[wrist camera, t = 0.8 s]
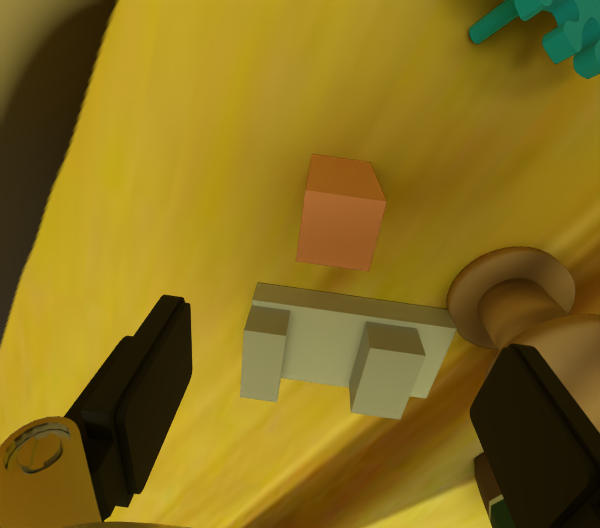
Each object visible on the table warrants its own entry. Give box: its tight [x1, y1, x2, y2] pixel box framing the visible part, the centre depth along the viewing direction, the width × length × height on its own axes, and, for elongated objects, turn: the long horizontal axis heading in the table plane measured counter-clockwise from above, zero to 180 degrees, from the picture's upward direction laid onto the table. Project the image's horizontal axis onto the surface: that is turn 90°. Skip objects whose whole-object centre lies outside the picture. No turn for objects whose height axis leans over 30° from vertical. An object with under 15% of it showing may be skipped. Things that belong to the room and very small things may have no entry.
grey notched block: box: [240, 283, 457, 419], centre depth 29 cm, size 16×8×6 cm, turn 83°
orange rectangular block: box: [296, 154, 387, 271], centre depth 22 cm, size 4×4×8 cm
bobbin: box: [447, 247, 600, 432], centre depth 25 cm, size 9×9×9 cm
